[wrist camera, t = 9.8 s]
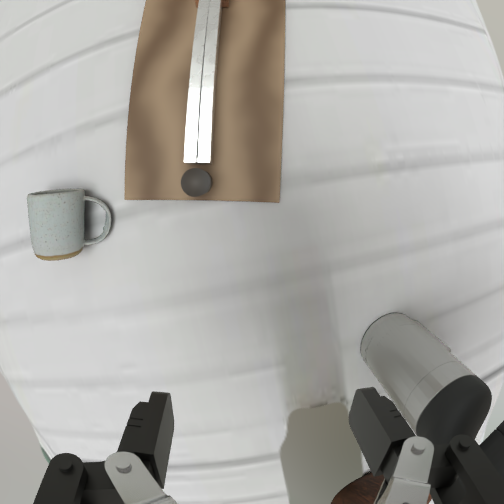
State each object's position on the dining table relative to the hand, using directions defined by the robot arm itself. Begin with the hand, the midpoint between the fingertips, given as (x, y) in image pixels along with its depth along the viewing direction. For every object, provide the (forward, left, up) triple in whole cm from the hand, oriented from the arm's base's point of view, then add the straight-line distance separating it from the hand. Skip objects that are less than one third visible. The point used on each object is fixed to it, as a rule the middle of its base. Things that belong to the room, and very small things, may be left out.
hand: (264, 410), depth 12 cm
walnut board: (+5, -23, -26) cm, 35 cm away
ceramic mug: (+21, -5, -26) cm, 34 cm away
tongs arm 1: (+4, -23, -25) cm, 34 cm away
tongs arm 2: (+6, -23, -25) cm, 34 cm away
